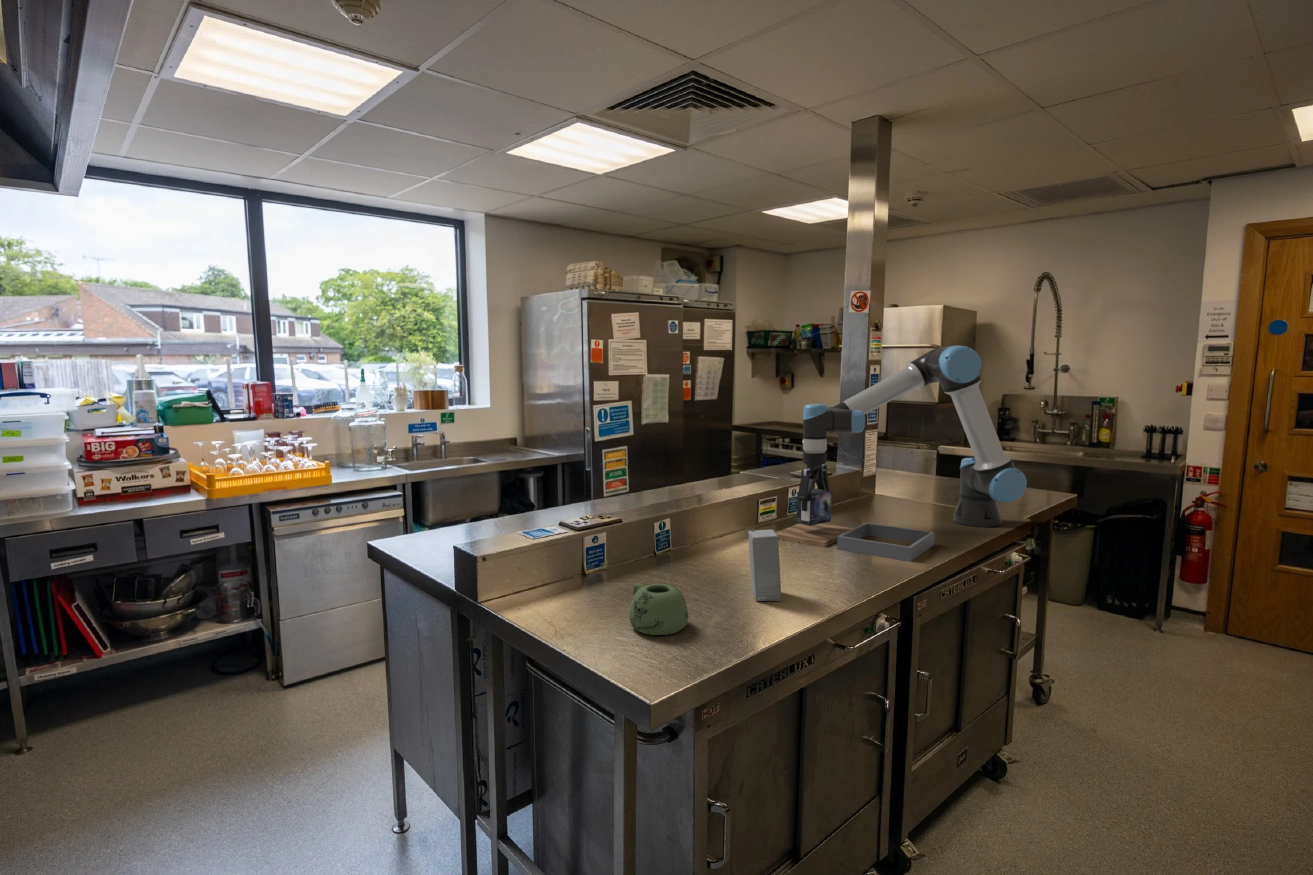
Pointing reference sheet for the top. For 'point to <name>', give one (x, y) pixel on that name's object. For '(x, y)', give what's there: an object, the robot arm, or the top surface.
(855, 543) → the bin
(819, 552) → the top surface
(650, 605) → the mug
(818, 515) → the small box
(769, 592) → the skincare box
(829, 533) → the walnut board
